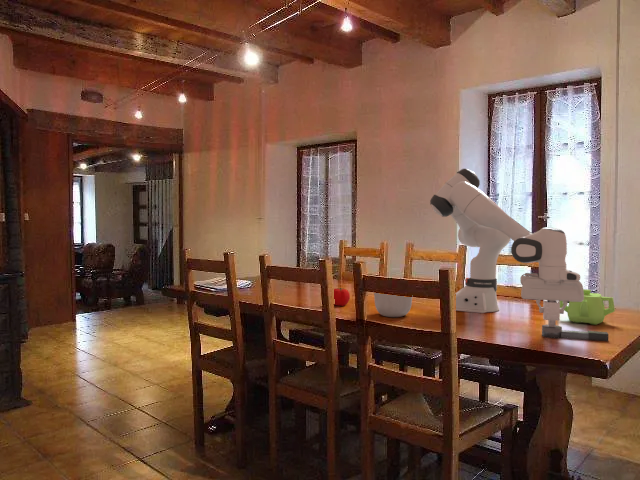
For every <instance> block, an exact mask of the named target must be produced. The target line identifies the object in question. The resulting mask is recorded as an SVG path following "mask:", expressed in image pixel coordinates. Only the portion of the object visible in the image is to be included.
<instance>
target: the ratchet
mask: <svg viewBox="0 0 640 480" xmlns="http://www.w3.org/2000/svg"><path fill="white" fill-rule="evenodd" d="M547 321H548V324H542V325H541V336H542V337H543V338H545V339H546V338H547V339H571V340H572V339H573V340H585V341H587V340H588V341H597V342H599V341H600V342H609V333H608V332H607V331H595V330H594V331H593V330H587V331H581V330H579V331H578V330H567V329H563V328H562V327H563V326H561V325H557V324H556V323H557V322H556V320H547Z"/></svg>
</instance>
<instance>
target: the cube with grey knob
mask: <svg viewBox="0 0 640 480" xmlns="http://www.w3.org/2000/svg"><path fill="white" fill-rule="evenodd" d="M542 307H544V313H542V316H543V317H542V318H543V320H544V321H548V320H556V321H558V322H560V318H561V317H560V315H561V314H560V301H553V300H543V306H542Z"/></svg>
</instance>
